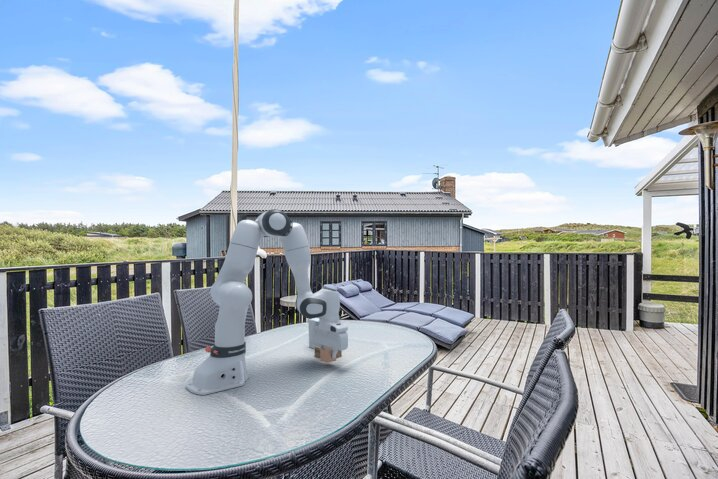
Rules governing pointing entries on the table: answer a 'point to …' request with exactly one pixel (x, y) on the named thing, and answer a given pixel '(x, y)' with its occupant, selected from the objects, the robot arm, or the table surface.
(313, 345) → the skincare box
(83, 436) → the table surface
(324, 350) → the terracotta cube
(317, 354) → the walnut block
